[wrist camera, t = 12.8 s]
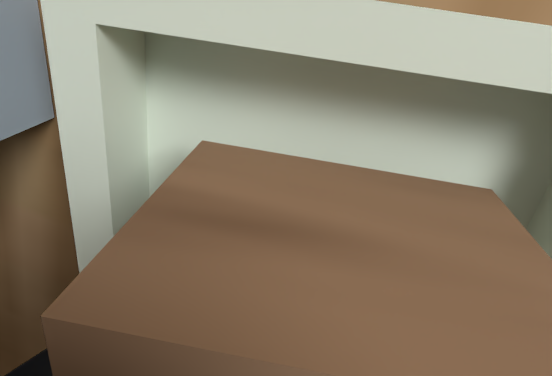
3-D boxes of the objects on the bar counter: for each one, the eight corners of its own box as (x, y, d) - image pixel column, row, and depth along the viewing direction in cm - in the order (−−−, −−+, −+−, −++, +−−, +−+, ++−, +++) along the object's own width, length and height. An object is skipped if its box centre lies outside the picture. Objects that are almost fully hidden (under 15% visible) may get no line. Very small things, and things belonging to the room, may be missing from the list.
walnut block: (406, 382, 10) (466, 679, 6) (193, 339, 11) (93, 589, 6) (491, 189, 8) (728, 466, 3) (201, 140, 8) (33, 324, 3)
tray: (457, 396, 14) (484, 478, 11) (135, 332, 14) (97, 396, 12) (654, 42, 8) (785, 58, 6) (112, -37, 9) (33, -49, 6)
